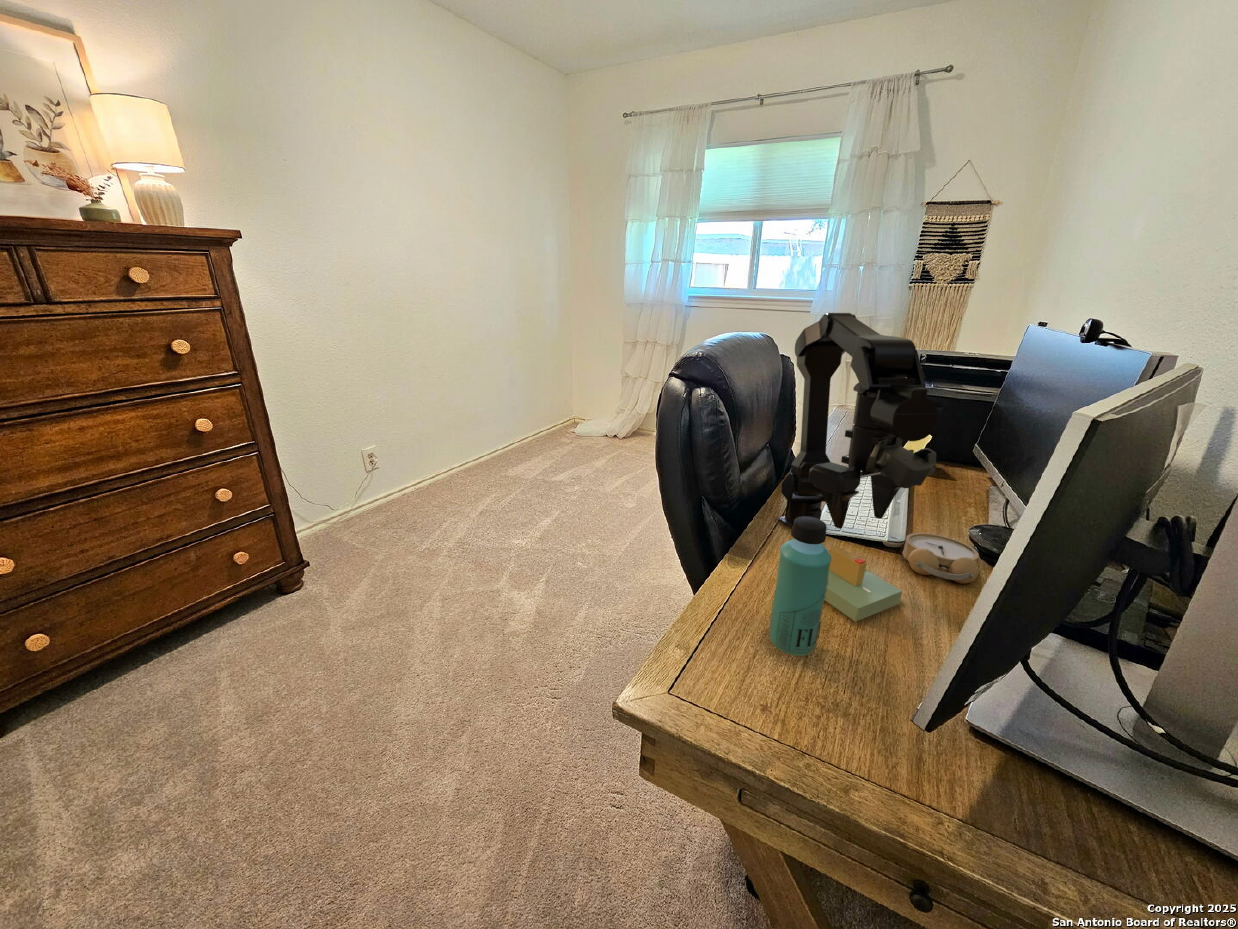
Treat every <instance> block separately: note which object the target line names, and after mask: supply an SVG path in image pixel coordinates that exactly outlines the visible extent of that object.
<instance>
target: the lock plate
mask: <svg viewBox="0 0 1238 929" xmlns="http://www.w3.org/2000/svg"><path fill="white" fill-rule="evenodd" d="M827 550H828V551H829V549H827ZM828 574H829V575H828V580H827V582H828V583H827V585H828V587H827V586H826V589H827V591H826V592H827V593H825V597H824V602H827V603H828V604H829V605H831V606H832V607H833V608H835V609H836V610H838V611H839V612H840V613H842V614H844V615H845V616H846V617H847V618H849V619H850V620H852V621H853V622H855V623H857V622H859V621H861V620H864V619H865V618H868V617H871V616H874V615H876V614H878V613H881V612H883V611H885V610H888V609H890V608H893V607H895V606H898V605H900V603H901V599H902V594H903V591H902V590H901V589H899V588H898V587H896V586H894V585H892V584H891V583H889V582H888V581H886V580H884V579H883V578H881V577H879V576H878V575H875V574H874V573H872V572H871V571H870V570H867V569H865V573H864V578H863V583H862V584H861V585H858V586H854V585H853V584H851V583H849V582H848V581H846V580H845V579H843V578H842V577H840V576H838V575H837V574H835V573H834V572H832V571H830V570H829V573H828Z"/></svg>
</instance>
